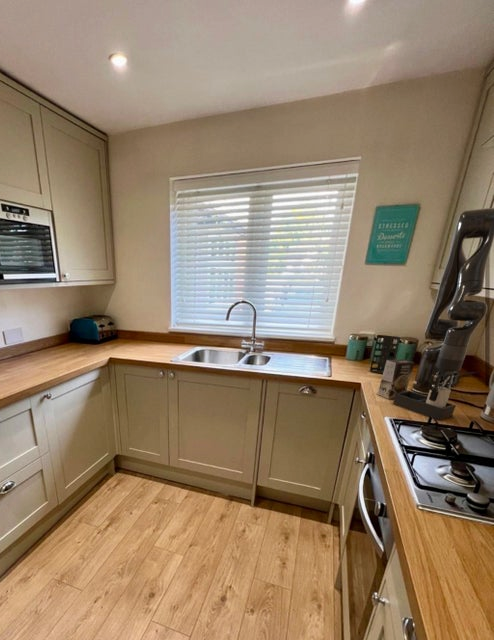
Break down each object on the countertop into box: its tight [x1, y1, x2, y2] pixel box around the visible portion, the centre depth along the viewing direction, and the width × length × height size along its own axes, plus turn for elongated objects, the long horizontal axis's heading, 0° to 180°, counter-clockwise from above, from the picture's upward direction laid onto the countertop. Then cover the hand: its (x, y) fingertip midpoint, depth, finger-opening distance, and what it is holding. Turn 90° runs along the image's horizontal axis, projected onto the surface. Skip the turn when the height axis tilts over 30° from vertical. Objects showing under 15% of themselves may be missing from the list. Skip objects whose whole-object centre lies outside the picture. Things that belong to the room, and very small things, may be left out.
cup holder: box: [392, 390, 456, 421], centre depth 132 cm, size 9×18×5 cm, turn 28°
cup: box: [426, 386, 452, 408], centre depth 127 cm, size 6×6×8 cm
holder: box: [369, 334, 401, 374], centre depth 179 cm, size 11×8×20 cm
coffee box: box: [377, 358, 416, 400], centre depth 144 cm, size 9×6×16 cm
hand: (437, 399), depth 127 cm, fingers closed on cup, 6 cm apart
